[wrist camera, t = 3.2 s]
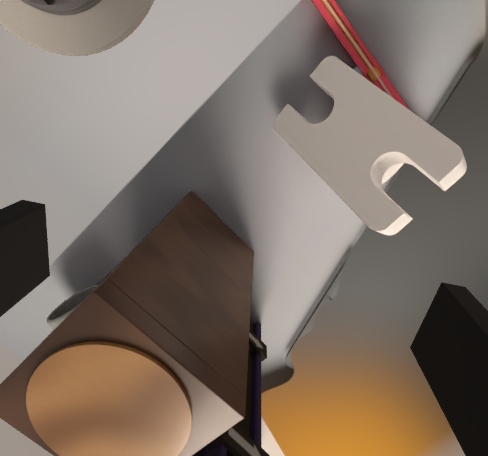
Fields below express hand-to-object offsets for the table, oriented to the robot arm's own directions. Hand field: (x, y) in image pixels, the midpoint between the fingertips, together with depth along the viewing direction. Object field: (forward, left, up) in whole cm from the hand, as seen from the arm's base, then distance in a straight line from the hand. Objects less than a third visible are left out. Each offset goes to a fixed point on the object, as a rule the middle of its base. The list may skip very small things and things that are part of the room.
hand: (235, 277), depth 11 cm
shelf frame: (+3, -15, -34) cm, 37 cm away
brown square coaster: (+3, -15, -8) cm, 17 cm away
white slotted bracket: (+4, +9, -24) cm, 26 cm away
